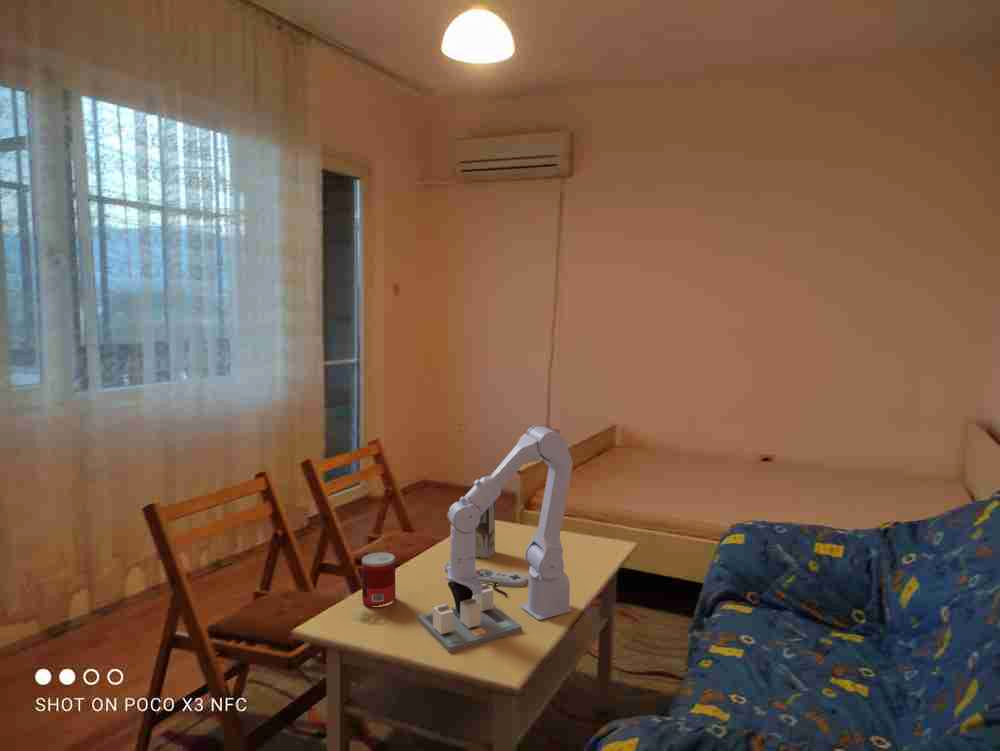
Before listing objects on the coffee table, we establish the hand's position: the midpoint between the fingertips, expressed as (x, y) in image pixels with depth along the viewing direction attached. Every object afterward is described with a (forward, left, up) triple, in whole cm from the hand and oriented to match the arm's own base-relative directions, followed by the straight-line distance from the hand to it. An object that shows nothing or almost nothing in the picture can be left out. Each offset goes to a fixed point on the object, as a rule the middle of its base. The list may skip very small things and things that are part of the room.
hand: (462, 612), depth 154 cm
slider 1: (+6, +3, -1) cm, 7 cm away
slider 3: (-6, -2, -1) cm, 7 cm away
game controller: (-17, -14, -3) cm, 22 cm away
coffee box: (-23, -35, -3) cm, 42 cm away
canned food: (+13, -20, -3) cm, 24 cm away
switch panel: (0, +2, -2) cm, 3 cm away
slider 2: (0, +4, -1) cm, 4 cm away
